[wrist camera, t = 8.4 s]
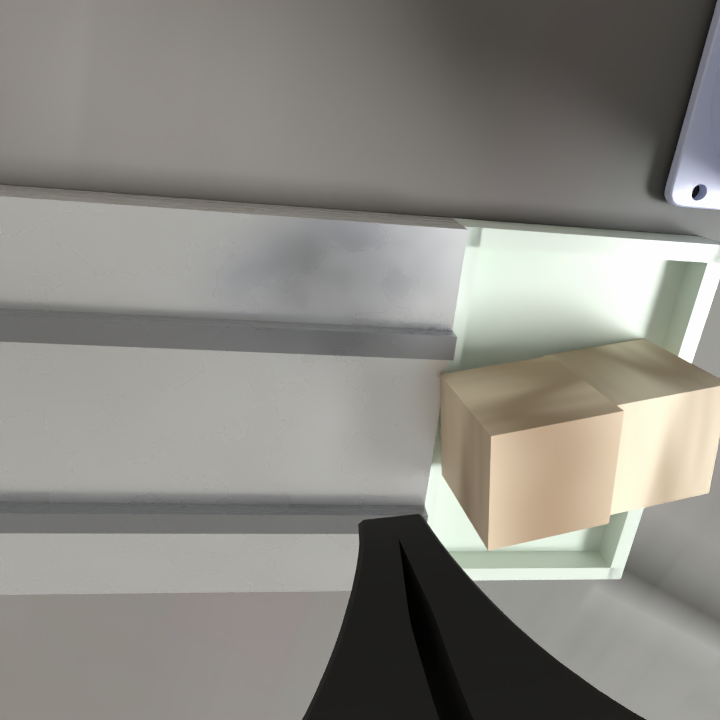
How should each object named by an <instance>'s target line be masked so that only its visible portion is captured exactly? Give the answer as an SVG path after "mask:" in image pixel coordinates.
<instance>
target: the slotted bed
mask: <svg viewBox="0 0 720 720" xmlns="http://www.w3.org/2000/svg"><path fill="white" fill-rule="evenodd" d="M467 235H468V229H467V228H465V227H464V226H462V225H461V224H460V223H458V222H457V221H455V220H454V219H453V218H445V217H432V216H418V215H405V214H391V213H377V212H364V211H350V210H337V209H323V208H310V207H296V206H283V205H269V204H256V203H242V202H229V201H215V200H202V199H188V198H174V197H161V196H147V195H134V194H120V193H107V192H93V191H80V190H66V189H53V188H39V187H26V186H12V185H0V595H21V594H113V593H205V592H297V591H352V586H353V581H354V576H355V571H356V566H357V559H358V552H359V531H358V524H359V523H360V522H361V521H362V520H366V519H375V518H384V517H393V516H403V515H412V514H420V515H421V516H422V517H424V519H425V520H426V522H427V520H428V514H427V511H426V508H425V501H426V494H427V488H428V482H429V475H430V469H431V463H432V456H433V450H434V444H435V437H436V431H437V425H438V418H439V412H440V406H441V400H440V374H445V373H446V368H447V361H448V360H454V354H455V348H456V341H457V336H456V334H455V333H454V332H453V324H454V317H455V311H456V305H457V298H458V292H459V286H460V279H461V273H462V267H463V260H464V254H465V248H466V241H467Z"/></svg>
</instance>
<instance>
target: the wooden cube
mask: <svg viewBox="0 0 720 720" xmlns="http://www.w3.org/2000/svg"><path fill="white" fill-rule="evenodd" d="M551 355H552V356H553V357H554V358H556V359H557V360H558V361H559V362H561V363H562V364H563V365H565V366H566V367H567V368H569V369H570V370H571V371H573V372H574V373H575V374H576V375H578V376H579V377H580V378H582V379H583V380H584V381H586V382H587V383H588V384H590V385H591V386H592V387H593V388H595V389H596V390H597V391H599V392H600V393H601V394H603V395H604V396H605V397H607V398H608V399H609V400H610V401H612V402H613V403H614V404H616V405H617V406H618V407H620V408H621V409H622V410H624V416H623V423H622V431H621V438H620V446H619V453H618V460H617V468H616V475H615V483H614V490H613V498H612V505H611V513H610V515H613V514H617V513H622V512H626V511H630V510H635V509H639V508H644V507H648V506H653V505H657V504H662V503H666V502H671V501H675V500H680V499H684V498H689V497H693V496H698V495H702V494H707V493H709V489H710V484H711V479H712V474H713V469H714V464H715V458H716V453H717V448H718V443H719V438H720V379H719V378H718V377H716V376H714V375H712V374H710V373H708V372H706V371H704V370H702V369H701V368H699V367H697V366H695V365H693V364H691V363H689V362H687V361H686V360H684V359H682V358H680V357H678V356H676V355H674V354H672V353H670V352H669V351H667V350H665V349H663V348H661V347H659V346H657V345H655V344H653V343H652V342H650V341H648V340H646V339H638V340H632V341H626V342H620V343H614V344H608V345H602V346H596V347H590V348H584V349H578V350H572V351H567V352H561V353H555V354H549V355H543V357H545V356H551Z"/></svg>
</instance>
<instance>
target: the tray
mask: <svg viewBox="0 0 720 720" xmlns="http://www.w3.org/2000/svg"><path fill="white" fill-rule="evenodd" d="M453 219H454V220H455V221H457V222H458V223H460V224H461V225H462V226H464V227H465V228H467V229H468V235H467V241H466V248H465V254H464V260H463V267H462V273H461V279H460V286H459V292H458V298H457V305H456V311H455V317H454V324H453V332H454V333H455V334H456V336H457V341H456V348H455V354H454V360H448V361H447V368H446V373H451V372H457V371H462V370H468V369H474V368H480V367H486V366H492V365H498V364H504V363H510V362H516V361H522V360H528V359H534V358H540V357H543V355H549V354H555V353H561V352H567V351H572V350H578V349H584V348H590V347H596V346H602V345H608V344H614V343H620V342H626V341H632V340H638V339H646V340H648V341H650V342H652V343H653V344H655V345H657V346H659V347H661V348H663V349H665V350H667V351H669V352H670V353H672V354H674V355H676V356H678V357H680V358H682V359H684V360H686V361H687V362H689V363H691V364H692V361H693V358H694V355H695V352H696V349H697V346H698V343H699V340H700V337H701V334H702V331H703V328H704V325H705V321H706V318H707V315H708V312H709V309H710V306H711V303H712V300H713V297H714V294H715V291H716V288H717V285H718V282H719V279H720V242H717V241H714V240H711V239H708V238H705V237H702V236H689V235H675V234H662V233H648V232H635V231H621V230H607V229H594V228H580V227H567V226H553V225H540V224H526V223H513V222H499V221H486V220H472V219H459V218H453ZM425 508H426V511H427V514H428V520H427V523H428V525H429V526H430V528H431V529H432V531H433V532H434V533H435V535H436V536H437V538H438V539H439V540H440V542H441V543H442V544H443V546H444V547H445V548H446V549H447V551H448V552H449V553H450V555H451V556H452V557H453V558H454V560H455V561H456V562H457V563H458V564H459V566H460V567H461V568H462V569H463V570H464V571H465V573H466V574H467V575H468V576H469V577H470V578H471V579H472V580H565V579H621V576H622V573H623V570H624V567H625V564H626V561H627V558H628V555H629V552H630V549H631V546H632V543H633V539H634V536H635V533H636V530H637V527H638V524H639V521H640V518H641V515H642V512H643V509H644V508H639V509H635V510H630V511H626V512H622V513H617V514H613V515H610V520H609V524H604V525H600V526H596V527H591V528H587V529H582V530H578V531H573V532H569V533H565V534H560V535H556V536H551V537H547V538H543V539H538V540H534V541H529V542H525V543H520V544H516V545H512V546H507V547H503V548H498V549H494V550H490V551H488V550H487V548H486V547H485V545H484V543H483V542H482V540H481V538H480V537H479V535H478V534H477V532H476V530H475V529H474V527H473V525H472V524H471V522H470V520H469V519H468V517H467V515H466V514H465V512H464V510H463V509H462V507H461V506H460V504H459V502H458V501H457V499H456V497H455V496H454V494H453V492H452V491H451V489H450V487H449V486H448V484H447V483H446V481H445V479H444V478H443V476H442V468H441V406H440V412H439V418H438V425H437V431H436V437H435V444H434V450H433V456H432V463H431V469H430V475H429V482H428V488H427V494H426V501H425Z"/></svg>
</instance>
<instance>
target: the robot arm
mask: <svg viewBox="0 0 720 720" xmlns="http://www.w3.org/2000/svg"><path fill="white" fill-rule="evenodd" d="M697 185H699V193H698V195H697V196H696V197H695V198H692V191H693V189H694V187H696V186H697ZM665 198H666V200H667V201H668V202H669V203H670V204H672V205H676V206H679V207H691V208H703V209H716V210H720V0H717V4H716V7H715V11H714V14H713V18H712V22H711V25H710V29H709V32H708V36H707V40H706V43H705V47H704V50H703V54H702V58H701V61H700V65H699V69H698V72H697V76H696V79H695V83H694V87H693V90H692V94H691V97H690V101H689V105H688V108H687V112H686V115H685V119H684V123H683V126H682V130H681V133H680V137H679V141H678V144H677V148H676V151H675V155H674V159H673V162H672V166H671V169H670V173H669V177H668V180H667V184H666V187H665ZM358 531H359V552H358V559H357V566H356V571H355V576H354V581H353V586H352V591H351V595H350V599H349V602H348V606H347V609H346V613H345V616H344V619H343V623H342V626H341V629H340V632H339V635H338V638H337V641H336V644H335V647H334V649H333V652H332V655H331V657H330V660H329V662H328V665H327V667H326V670H325V672H324V674H323V677H322V679H321V681H320V684H319V686H318V688H317V690H316V693H315V695H314V697H313V699H312V701H311V703H310V705H309V707H308V710H307V712H306V714H305V715H304V717H303V719H302V720H646V719H644V718H642V717H640V716H639V715H637V714H635V713H633V712H632V711H630V710H629V709H627V708H625V707H624V706H622V705H621V704H619V703H618V702H616V701H614V700H613V699H611V698H610V697H608V696H607V695H605V694H604V693H602V692H600V691H599V690H597V689H596V688H595V687H593V686H592V685H591V684H589V683H588V682H586V681H585V680H584V679H582V678H581V677H579V676H578V675H577V674H575V673H574V672H573V671H571V670H570V669H568V668H567V667H566V666H564V665H563V664H562V663H560V662H559V661H558V660H556V659H555V658H554V657H553V656H551V655H550V654H549V653H548V652H547V651H545V650H544V649H543V648H542V647H540V646H539V645H538V644H537V643H536V642H534V641H533V640H532V639H531V638H530V637H529V636H528V635H527V634H525V633H524V632H523V631H522V630H521V629H520V628H519V627H517V626H516V625H515V624H514V623H513V622H512V621H511V620H510V619H509V618H508V617H507V616H506V615H505V614H504V613H503V612H502V611H501V610H500V609H499V608H498V607H497V606H496V605H495V604H494V603H493V602H492V601H491V600H490V599H489V598H488V597H487V596H486V595H485V594H484V593H483V592H482V591H481V589H480V588H479V587H478V586H477V585H476V584H475V583H474V582H473V581H472V579H471V578H470V577H469V576H468V575H467V574H466V573H465V571H464V570H463V569H462V568H461V567H460V566H459V564H458V563H457V562H456V561H455V560H454V558H453V557H452V556H451V555H450V553H449V552H448V551H447V549H446V548H445V547H444V546H443V544H442V543H441V542H440V540H439V539H438V538H437V536H436V535H435V533H434V532H433V531H432V529H431V528H430V526H429V525H428V523H427V522H426V520H425V519H424V517H422V516H421V515H420V514H412V515H403V516H393V517H384V518H375V519H366V520H362V521H361V522H360V523H359V524H358Z"/></svg>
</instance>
